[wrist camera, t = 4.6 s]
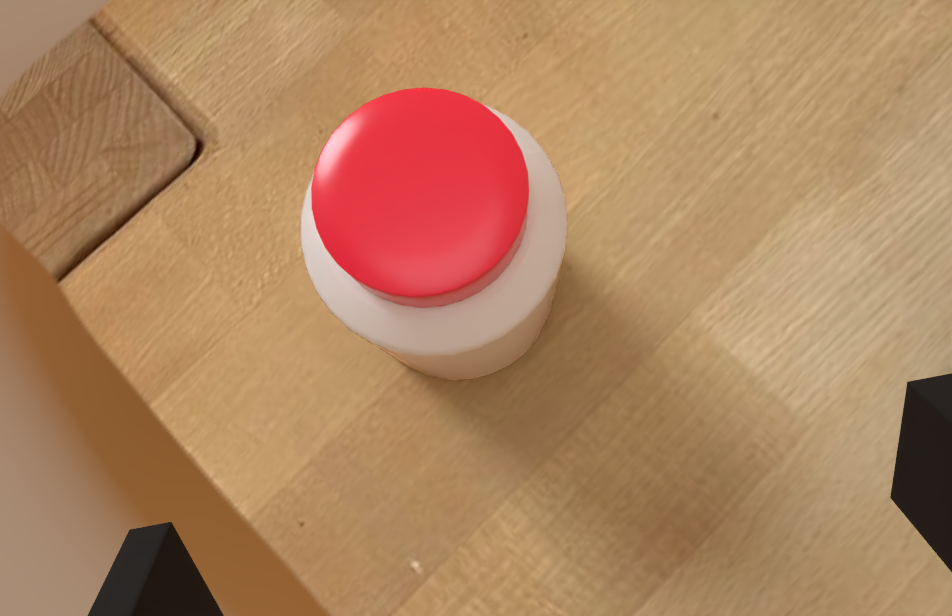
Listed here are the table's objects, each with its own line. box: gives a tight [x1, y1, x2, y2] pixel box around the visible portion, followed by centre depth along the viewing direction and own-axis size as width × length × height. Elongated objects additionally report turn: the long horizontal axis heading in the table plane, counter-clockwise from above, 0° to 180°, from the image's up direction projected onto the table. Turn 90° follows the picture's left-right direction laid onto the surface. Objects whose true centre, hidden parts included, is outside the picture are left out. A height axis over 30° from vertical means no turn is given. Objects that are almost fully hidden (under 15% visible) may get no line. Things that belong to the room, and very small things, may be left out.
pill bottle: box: [301, 88, 568, 380], centre depth 23 cm, size 8×8×11 cm
